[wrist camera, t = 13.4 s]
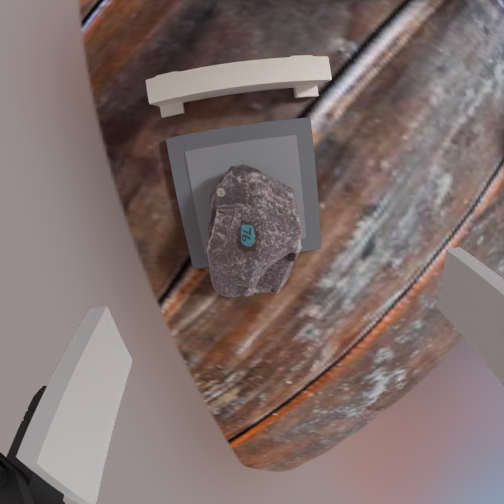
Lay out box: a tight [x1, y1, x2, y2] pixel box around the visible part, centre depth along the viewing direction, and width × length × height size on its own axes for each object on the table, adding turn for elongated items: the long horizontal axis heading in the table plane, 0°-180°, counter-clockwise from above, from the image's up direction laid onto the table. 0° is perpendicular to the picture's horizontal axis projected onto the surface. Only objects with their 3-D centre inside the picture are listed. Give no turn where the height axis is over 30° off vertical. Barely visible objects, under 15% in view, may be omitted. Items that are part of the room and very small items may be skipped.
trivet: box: [166, 118, 321, 269], centre depth 28 cm, size 13×13×1 cm
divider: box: [146, 55, 332, 118], centre depth 22 cm, size 4×14×5 cm, turn 98°
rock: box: [206, 165, 302, 297], centre depth 26 cm, size 8×11×5 cm
